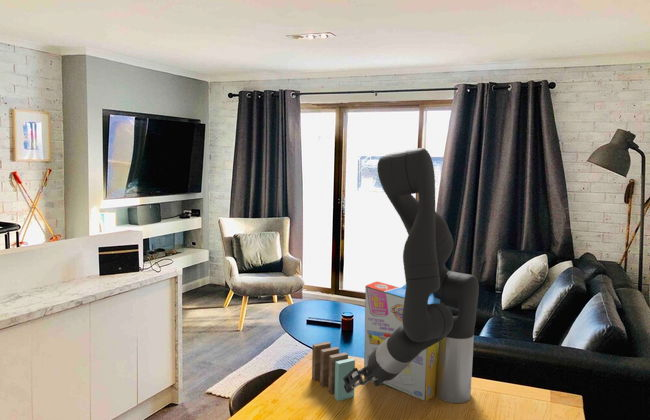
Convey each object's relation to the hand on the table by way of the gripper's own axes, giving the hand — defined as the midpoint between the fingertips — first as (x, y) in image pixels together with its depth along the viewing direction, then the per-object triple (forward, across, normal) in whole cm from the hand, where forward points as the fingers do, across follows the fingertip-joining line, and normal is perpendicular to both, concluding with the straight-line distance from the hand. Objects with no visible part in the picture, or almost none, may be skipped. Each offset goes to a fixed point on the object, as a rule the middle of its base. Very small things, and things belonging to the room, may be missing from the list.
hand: (361, 385), depth 130 cm
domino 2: (+16, 0, -7) cm, 17 cm away
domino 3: (+12, 0, -4) cm, 13 cm away
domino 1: (+19, 0, -10) cm, 21 cm away
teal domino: (+10, 0, -1) cm, 10 cm away
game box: (+9, -17, 0) cm, 19 cm away
